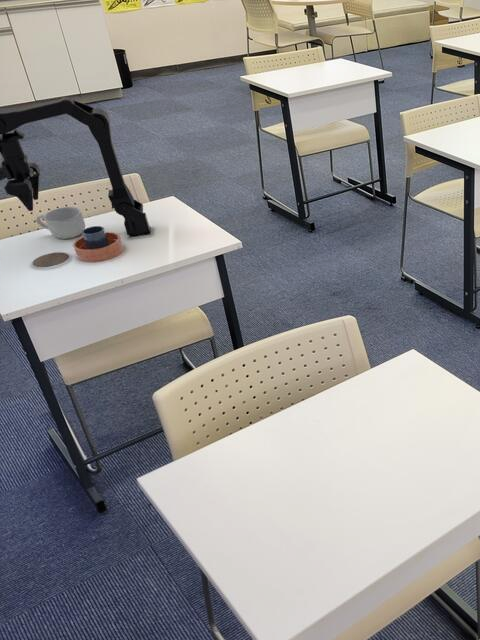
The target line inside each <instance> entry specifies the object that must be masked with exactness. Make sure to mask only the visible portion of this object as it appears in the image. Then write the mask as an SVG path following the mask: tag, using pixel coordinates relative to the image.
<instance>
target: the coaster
mask: <svg viewBox="0 0 480 640" xmlns="http://www.w3.org/2000/svg"><path fill="white" fill-rule="evenodd" d="M69 258H70V255H69V254H68V253H66V252H59V251H57V252H50V253H46V254H43V255H41V256H38V257H37V258H35V259H34V260H33V261H32V265H33V266H34V267H36V268H51V267H55V266H58V265H61V264H64V263H65V262H66V261H68V260H69Z"/></svg>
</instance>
